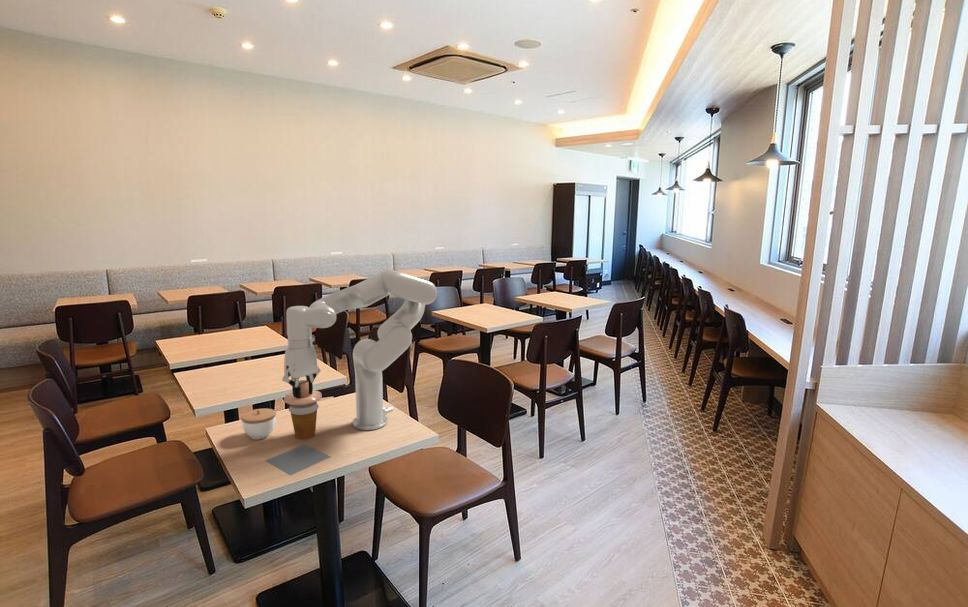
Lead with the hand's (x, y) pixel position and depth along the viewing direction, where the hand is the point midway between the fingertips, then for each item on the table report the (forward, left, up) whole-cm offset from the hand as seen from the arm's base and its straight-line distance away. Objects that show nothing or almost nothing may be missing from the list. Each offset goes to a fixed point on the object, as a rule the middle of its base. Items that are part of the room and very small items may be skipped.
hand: (303, 394), depth 166 cm
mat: (+11, +13, -15) cm, 23 cm away
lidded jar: (+9, -13, -15) cm, 22 cm away
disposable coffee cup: (0, 0, -15) cm, 15 cm away
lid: (0, 0, -1) cm, 1 cm away
